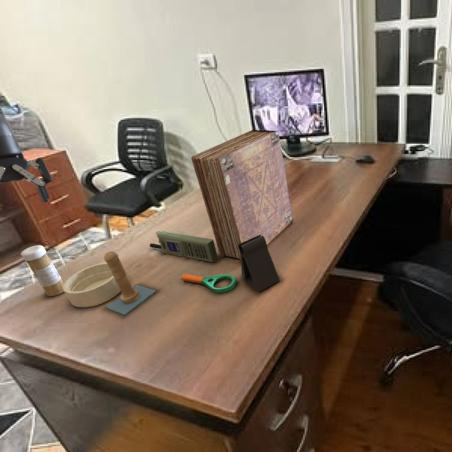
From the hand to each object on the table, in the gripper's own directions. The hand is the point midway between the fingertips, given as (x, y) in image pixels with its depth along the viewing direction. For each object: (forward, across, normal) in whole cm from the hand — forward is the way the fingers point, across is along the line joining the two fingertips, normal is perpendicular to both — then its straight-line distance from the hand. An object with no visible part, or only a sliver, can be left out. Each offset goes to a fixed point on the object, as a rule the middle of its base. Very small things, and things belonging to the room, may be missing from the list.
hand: (23, 207), depth 82 cm
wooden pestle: (+28, +10, -13) cm, 32 cm away
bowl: (+25, +7, -2) cm, 26 cm away
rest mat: (+28, +10, -13) cm, 33 cm away
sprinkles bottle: (+23, +1, +9) cm, 25 cm away
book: (+25, +46, -21) cm, 57 cm away
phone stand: (+32, +32, -36) cm, 58 cm away
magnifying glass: (+30, +24, -25) cm, 46 cm away
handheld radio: (+24, +29, -7) cm, 38 cm away
